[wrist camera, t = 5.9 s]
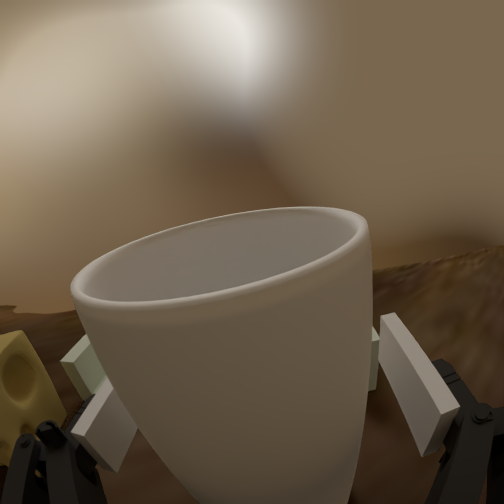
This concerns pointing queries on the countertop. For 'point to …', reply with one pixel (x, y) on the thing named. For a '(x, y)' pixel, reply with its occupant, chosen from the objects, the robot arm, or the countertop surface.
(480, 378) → the countertop surface
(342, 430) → the cup
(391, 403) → the countertop surface
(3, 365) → the cheese
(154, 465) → the countertop surface
